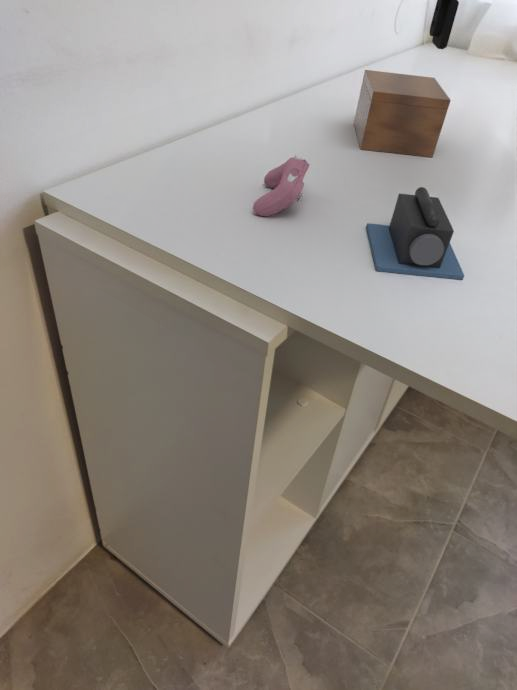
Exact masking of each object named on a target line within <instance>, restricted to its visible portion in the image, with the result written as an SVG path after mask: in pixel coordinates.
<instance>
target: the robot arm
mask: <svg viewBox="0 0 517 690" xmlns="http://www.w3.org/2000/svg"><path fill="white" fill-rule="evenodd" d="M459 4H460V2H459V0H436V4H435V7H434V12H433V14H432V19H431V23H430V26H429V36H430V37H432V38H431V39H432V40H431V41H432V44H433V45H434V47H436V48H437V49H438V50H444V49H446V48H447V47H448V44H449V40H450V38H451V33H452V30H453V27H454V22H455V18H456V15H457V12H458V8H459Z"/></svg>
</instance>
